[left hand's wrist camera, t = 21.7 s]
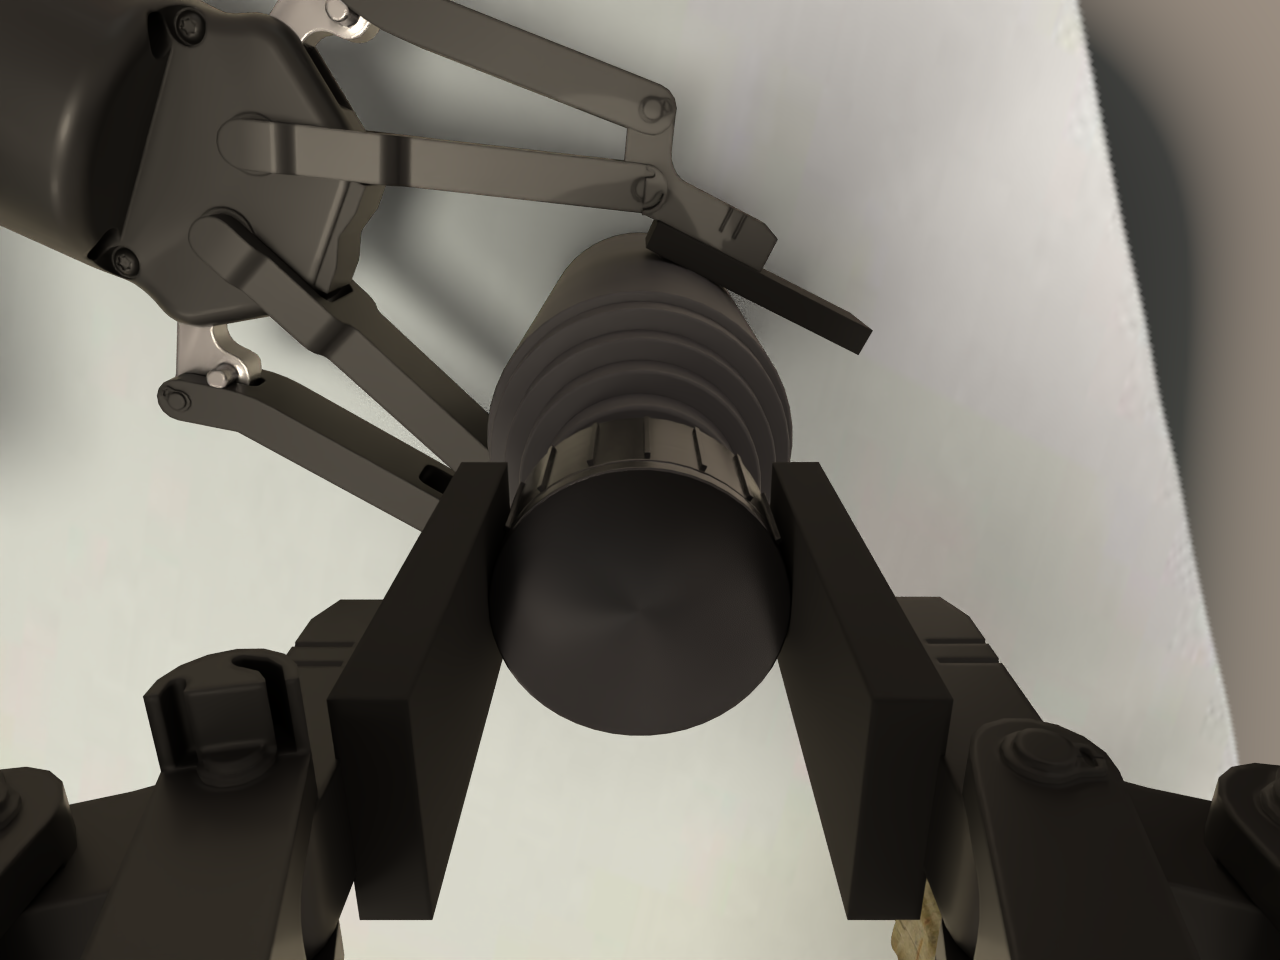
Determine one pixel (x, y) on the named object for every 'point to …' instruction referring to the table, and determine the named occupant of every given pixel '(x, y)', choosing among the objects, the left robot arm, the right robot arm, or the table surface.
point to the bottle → (638, 363)
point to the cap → (640, 579)
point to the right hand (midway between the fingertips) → (789, 443)
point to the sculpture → (918, 932)
